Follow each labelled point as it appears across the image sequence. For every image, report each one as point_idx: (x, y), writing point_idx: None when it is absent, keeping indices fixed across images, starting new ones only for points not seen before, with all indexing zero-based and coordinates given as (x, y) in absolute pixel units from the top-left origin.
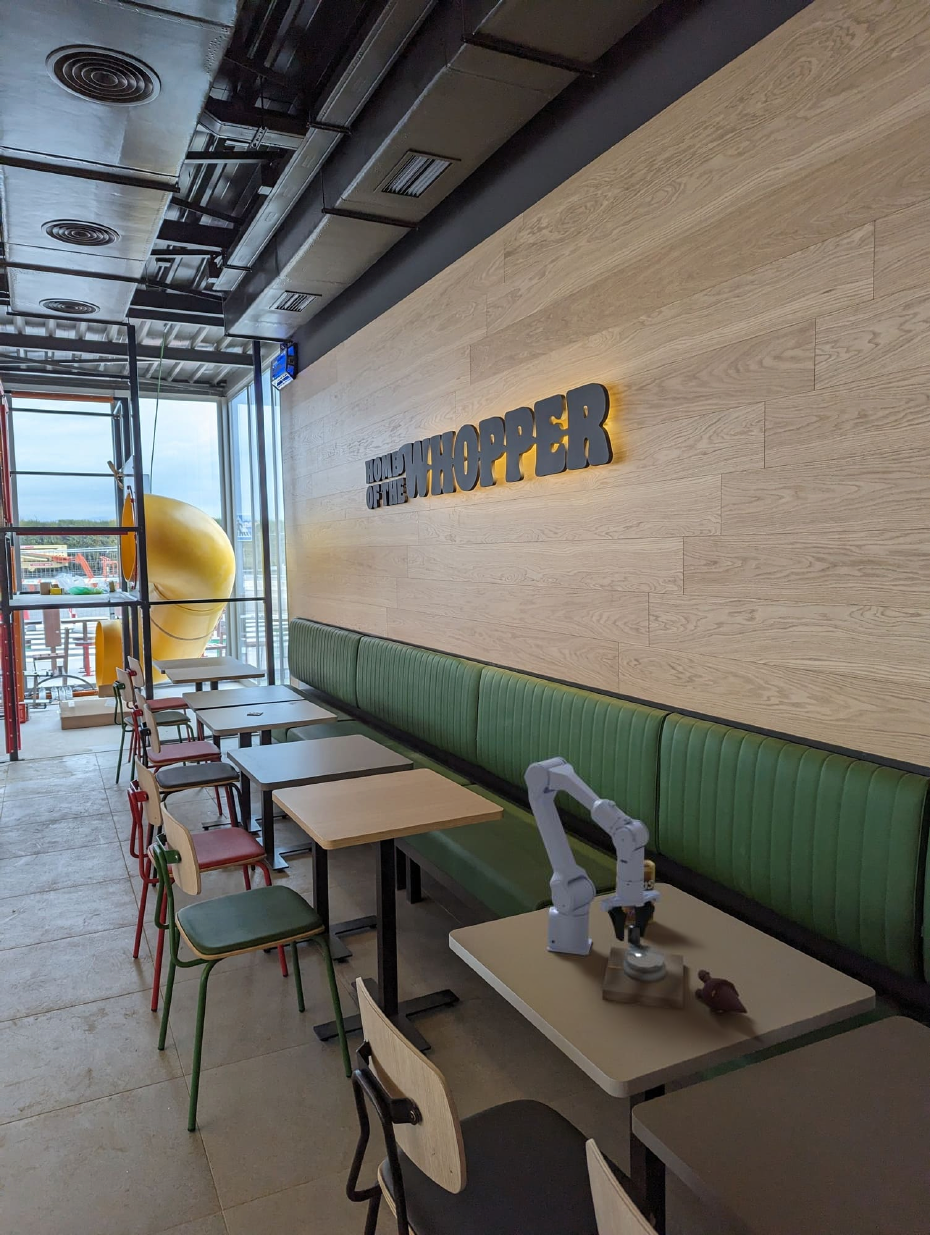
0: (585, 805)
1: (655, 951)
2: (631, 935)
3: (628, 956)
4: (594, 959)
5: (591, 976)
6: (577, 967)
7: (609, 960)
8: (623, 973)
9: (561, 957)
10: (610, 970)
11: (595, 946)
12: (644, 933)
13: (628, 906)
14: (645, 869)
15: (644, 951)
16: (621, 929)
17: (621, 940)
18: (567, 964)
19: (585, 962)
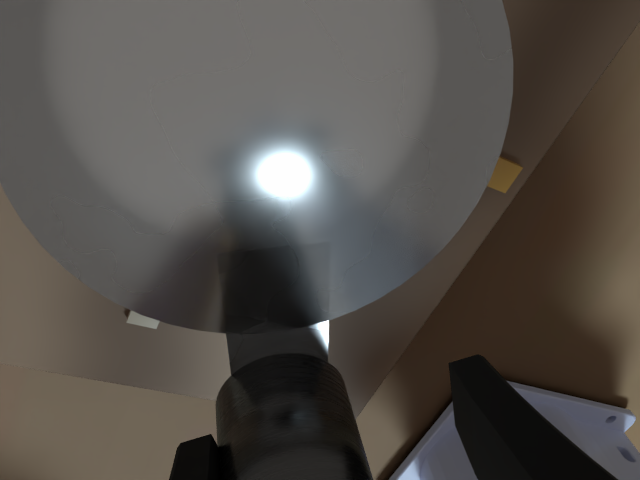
0: None
1: (95, 186)
2: (348, 436)
3: (511, 92)
4: (454, 342)
5: (588, 156)
6: (596, 265)
7: (452, 271)
8: None
9: (606, 360)
10: (532, 125)
11: (380, 453)
12: (172, 477)
13: None
14: None
15: (251, 198)
16: (588, 470)
17: (485, 360)
18: (625, 297)
19: (521, 314)
